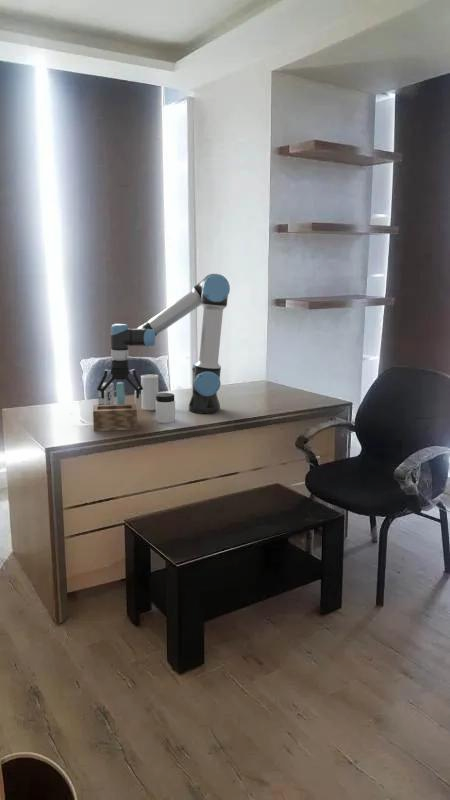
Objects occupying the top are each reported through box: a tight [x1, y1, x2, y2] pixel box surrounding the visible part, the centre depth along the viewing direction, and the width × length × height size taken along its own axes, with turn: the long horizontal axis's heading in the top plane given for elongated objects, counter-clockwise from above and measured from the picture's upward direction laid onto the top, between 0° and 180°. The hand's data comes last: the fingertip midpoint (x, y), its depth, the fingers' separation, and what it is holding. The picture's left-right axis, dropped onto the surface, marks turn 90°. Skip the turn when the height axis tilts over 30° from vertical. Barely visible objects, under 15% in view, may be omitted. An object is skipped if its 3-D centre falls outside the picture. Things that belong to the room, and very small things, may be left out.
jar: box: [155, 392, 176, 424], centre depth 273 cm, size 9×8×12 cm
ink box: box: [97, 382, 115, 405], centre depth 297 cm, size 9×5×12 cm, turn 168°
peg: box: [116, 382, 126, 404], centre depth 278 cm, size 3×3×16 cm
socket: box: [92, 403, 138, 432], centre depth 263 cm, size 18×12×8 cm, turn 102°
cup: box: [140, 373, 159, 411], centre depth 297 cm, size 8×8×16 cm
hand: (120, 405), depth 278 cm, fingers open, 13 cm apart
